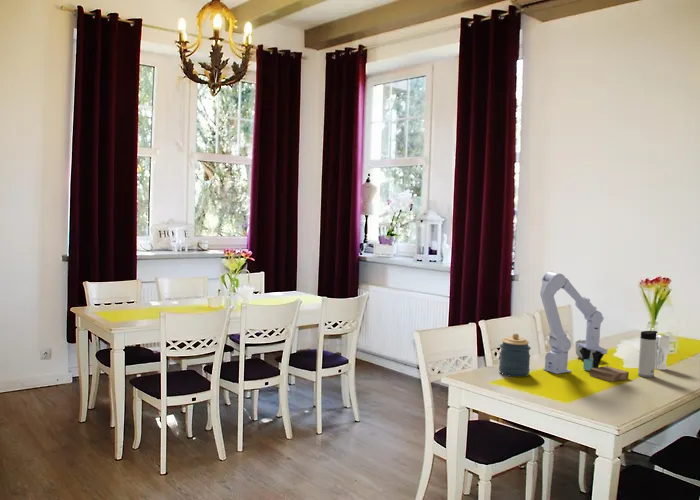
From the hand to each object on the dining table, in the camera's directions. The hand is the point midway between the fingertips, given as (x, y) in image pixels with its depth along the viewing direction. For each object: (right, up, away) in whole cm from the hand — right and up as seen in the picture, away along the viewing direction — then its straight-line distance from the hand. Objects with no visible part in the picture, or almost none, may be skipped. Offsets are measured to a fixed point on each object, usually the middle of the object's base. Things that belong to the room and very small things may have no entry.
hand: (591, 366), depth 285 cm
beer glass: (+34, -2, +7) cm, 35 cm away
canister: (-37, -2, -9) cm, 38 cm away
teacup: (+7, 0, +25) cm, 26 cm away
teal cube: (0, -1, 0) cm, 1 cm away
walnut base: (+4, -3, -10) cm, 11 cm away
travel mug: (+22, -3, -7) cm, 23 cm away
